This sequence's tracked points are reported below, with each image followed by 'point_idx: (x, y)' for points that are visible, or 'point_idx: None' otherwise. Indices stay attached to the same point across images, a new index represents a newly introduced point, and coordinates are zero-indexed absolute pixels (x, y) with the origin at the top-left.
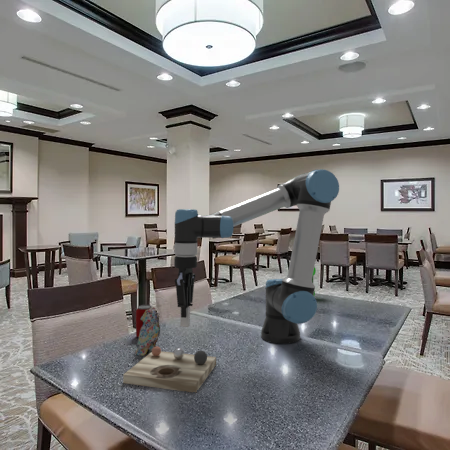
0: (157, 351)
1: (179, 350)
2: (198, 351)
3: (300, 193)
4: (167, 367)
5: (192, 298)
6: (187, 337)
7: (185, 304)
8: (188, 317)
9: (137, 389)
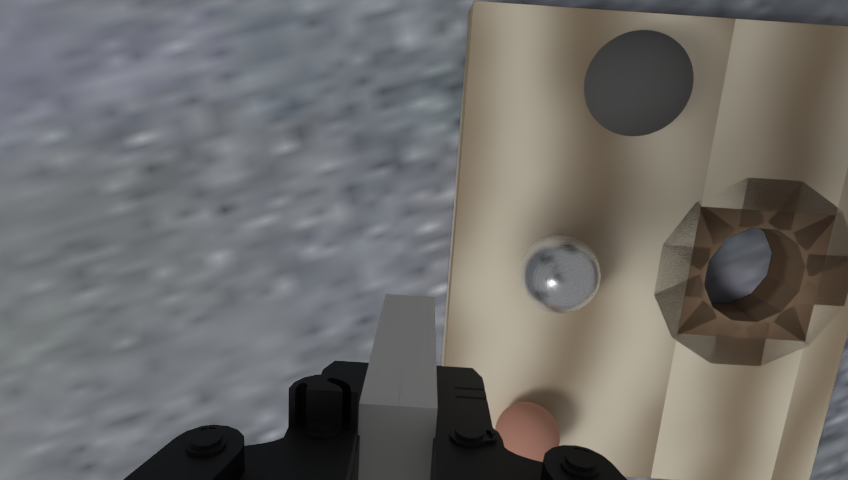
0: (554, 423)
1: (590, 270)
2: (657, 100)
3: None
4: (696, 287)
5: (149, 472)
6: (27, 351)
7: (584, 473)
8: (420, 337)
9: (841, 364)
